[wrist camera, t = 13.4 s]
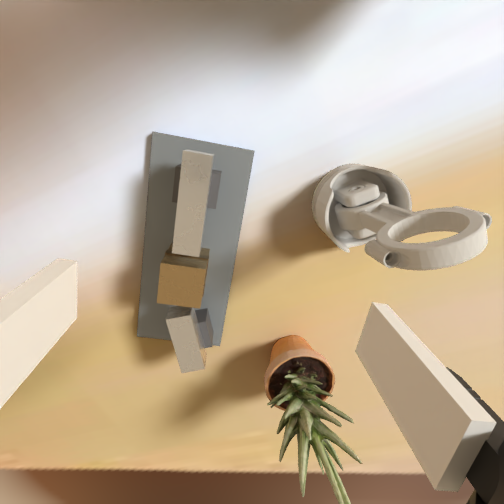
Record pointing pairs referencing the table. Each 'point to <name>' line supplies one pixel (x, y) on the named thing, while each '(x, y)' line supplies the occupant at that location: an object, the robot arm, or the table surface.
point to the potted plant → (306, 406)
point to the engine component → (393, 220)
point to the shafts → (190, 253)
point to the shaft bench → (214, 237)
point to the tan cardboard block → (182, 278)
